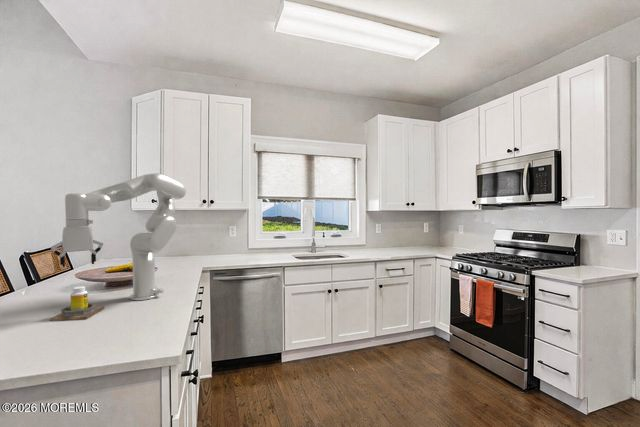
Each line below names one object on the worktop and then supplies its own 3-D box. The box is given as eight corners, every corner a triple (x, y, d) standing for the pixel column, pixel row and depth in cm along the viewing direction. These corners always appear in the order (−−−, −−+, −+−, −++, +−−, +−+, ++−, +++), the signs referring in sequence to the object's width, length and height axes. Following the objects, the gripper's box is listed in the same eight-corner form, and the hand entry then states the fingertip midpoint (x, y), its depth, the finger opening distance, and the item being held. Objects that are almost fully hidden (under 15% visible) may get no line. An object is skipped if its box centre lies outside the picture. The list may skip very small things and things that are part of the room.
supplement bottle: (86, 313, 131) (85, 288, 131) (69, 315, 129) (68, 289, 129) (89, 309, 136) (88, 285, 136) (72, 311, 134) (72, 286, 134)
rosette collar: (104, 309, 140) (104, 302, 140) (86, 319, 127) (86, 311, 127) (71, 310, 138) (71, 303, 138) (50, 320, 125) (50, 313, 125)
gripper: (101, 222, 141) (102, 261, 141) (50, 224, 130) (51, 266, 130) (103, 223, 135) (104, 263, 136) (49, 225, 124) (51, 269, 124)
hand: (78, 265), depth 133 cm, fingers open, 9 cm apart
